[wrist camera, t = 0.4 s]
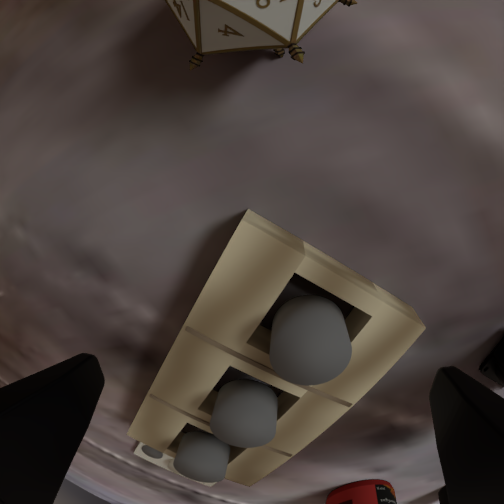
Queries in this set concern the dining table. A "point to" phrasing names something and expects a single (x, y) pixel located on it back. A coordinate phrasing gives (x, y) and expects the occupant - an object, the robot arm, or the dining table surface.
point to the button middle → (245, 414)
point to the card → (160, 459)
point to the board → (258, 347)
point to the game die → (248, 24)
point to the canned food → (363, 493)
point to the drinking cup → (443, 496)
